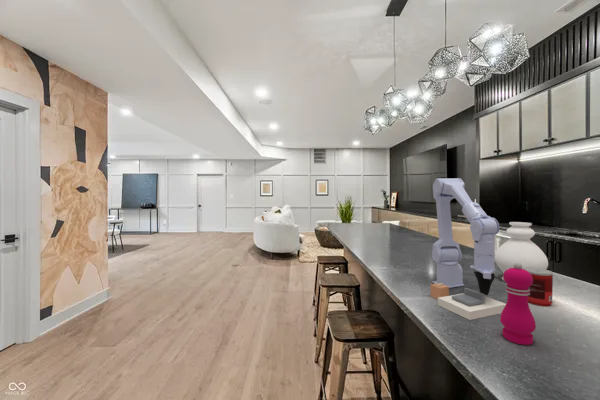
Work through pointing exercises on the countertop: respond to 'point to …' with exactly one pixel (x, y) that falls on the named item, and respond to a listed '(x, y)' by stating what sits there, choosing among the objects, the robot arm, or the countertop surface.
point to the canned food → (540, 287)
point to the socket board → (472, 307)
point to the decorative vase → (520, 249)
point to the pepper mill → (518, 306)
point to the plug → (439, 290)
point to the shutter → (470, 297)
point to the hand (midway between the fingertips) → (484, 294)
